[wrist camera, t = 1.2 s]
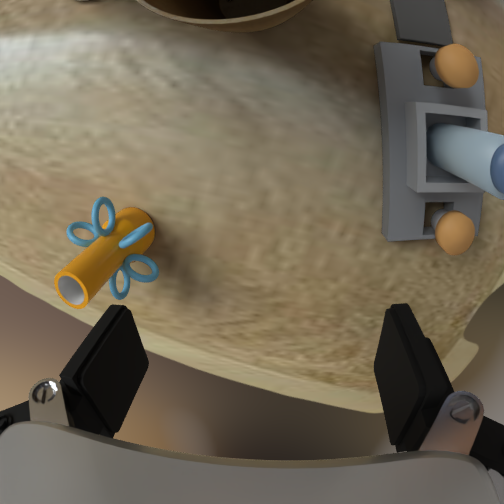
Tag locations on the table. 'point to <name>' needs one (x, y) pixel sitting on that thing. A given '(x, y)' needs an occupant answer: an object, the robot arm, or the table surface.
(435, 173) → the housing
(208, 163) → the table surface
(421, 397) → the robot arm
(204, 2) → the plant pot
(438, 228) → the orange rounded knob
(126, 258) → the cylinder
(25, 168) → the table surface
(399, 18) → the mat
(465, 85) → the light orange ball
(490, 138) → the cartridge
